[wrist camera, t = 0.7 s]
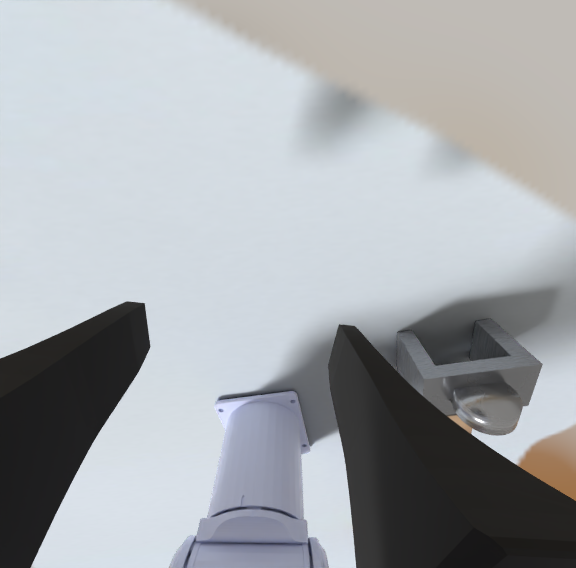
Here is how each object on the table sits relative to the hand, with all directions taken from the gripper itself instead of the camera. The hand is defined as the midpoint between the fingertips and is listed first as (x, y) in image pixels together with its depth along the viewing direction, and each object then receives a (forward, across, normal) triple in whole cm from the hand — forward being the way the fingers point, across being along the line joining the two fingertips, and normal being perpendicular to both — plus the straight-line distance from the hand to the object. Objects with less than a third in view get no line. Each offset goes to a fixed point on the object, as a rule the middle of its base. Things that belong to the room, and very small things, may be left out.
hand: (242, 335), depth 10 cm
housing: (+10, -16, +7) cm, 20 cm away
